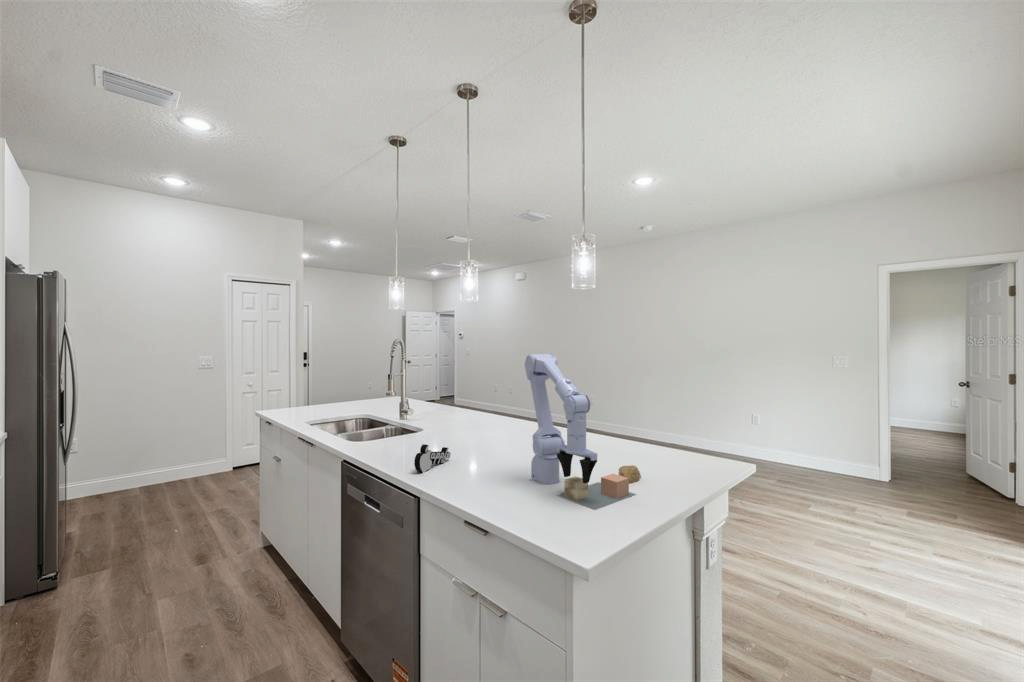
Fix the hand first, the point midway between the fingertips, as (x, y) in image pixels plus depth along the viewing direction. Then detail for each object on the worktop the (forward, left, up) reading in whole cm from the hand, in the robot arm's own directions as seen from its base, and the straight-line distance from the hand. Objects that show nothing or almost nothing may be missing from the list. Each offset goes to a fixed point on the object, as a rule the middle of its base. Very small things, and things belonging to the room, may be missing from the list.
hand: (576, 479), depth 132 cm
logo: (-57, -17, -6) cm, 60 cm away
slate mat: (+3, +6, -6) cm, 9 cm away
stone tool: (0, +28, -6) cm, 28 cm away
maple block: (0, 0, -5) cm, 5 cm away
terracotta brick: (+6, +11, -5) cm, 14 cm away
